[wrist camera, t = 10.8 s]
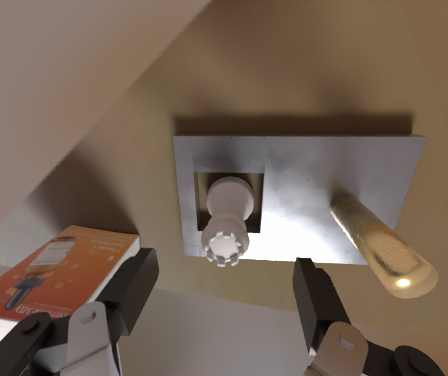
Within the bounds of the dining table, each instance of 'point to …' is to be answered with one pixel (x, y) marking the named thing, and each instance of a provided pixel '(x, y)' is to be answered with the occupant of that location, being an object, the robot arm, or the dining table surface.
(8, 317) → the small box
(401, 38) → the dining table surface
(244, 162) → the bolt plate
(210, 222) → the rook chess piece
